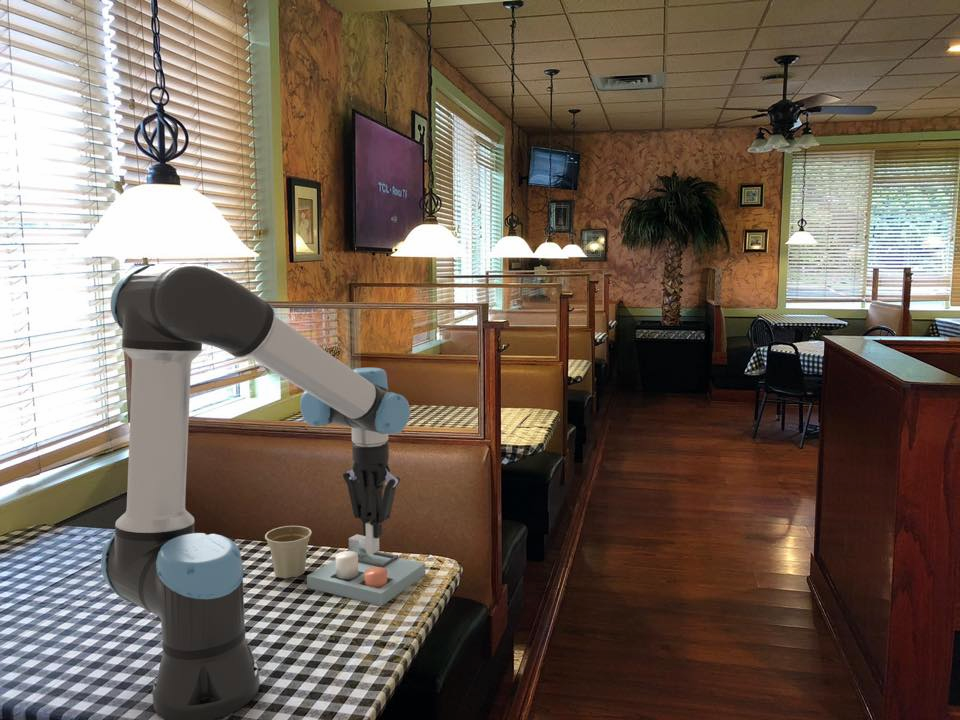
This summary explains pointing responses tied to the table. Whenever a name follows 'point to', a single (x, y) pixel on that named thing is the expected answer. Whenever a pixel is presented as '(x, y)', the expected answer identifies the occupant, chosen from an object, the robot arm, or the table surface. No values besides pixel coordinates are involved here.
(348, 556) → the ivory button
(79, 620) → the table surface
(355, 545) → the grey stone cube
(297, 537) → the flower pot
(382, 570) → the salmon orange egg
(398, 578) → the panel
